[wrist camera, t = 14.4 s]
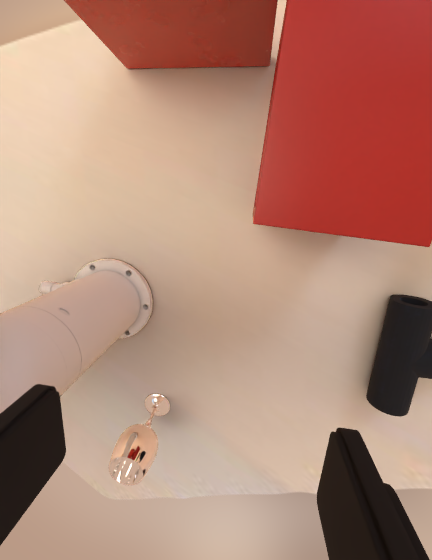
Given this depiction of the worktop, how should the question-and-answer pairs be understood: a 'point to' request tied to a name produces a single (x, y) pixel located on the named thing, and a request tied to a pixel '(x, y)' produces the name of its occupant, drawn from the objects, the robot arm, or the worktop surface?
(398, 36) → the valve cabinet
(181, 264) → the worktop surface
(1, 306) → the worktop surface
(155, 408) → the wineglass
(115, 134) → the worktop surface
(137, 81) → the worktop surface
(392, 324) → the pipe connector
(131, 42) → the red cabinet door
